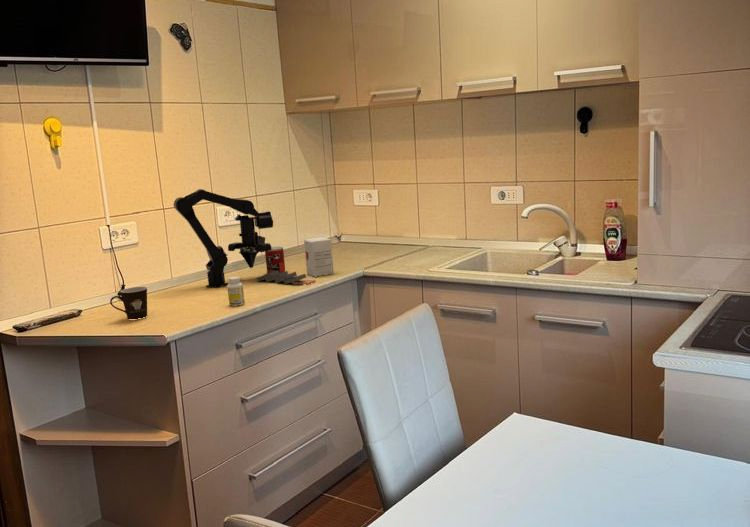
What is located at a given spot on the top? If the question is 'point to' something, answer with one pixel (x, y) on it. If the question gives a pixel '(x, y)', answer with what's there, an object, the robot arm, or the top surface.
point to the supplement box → (318, 256)
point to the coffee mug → (133, 302)
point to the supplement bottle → (235, 291)
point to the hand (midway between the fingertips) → (251, 267)
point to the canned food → (275, 260)
